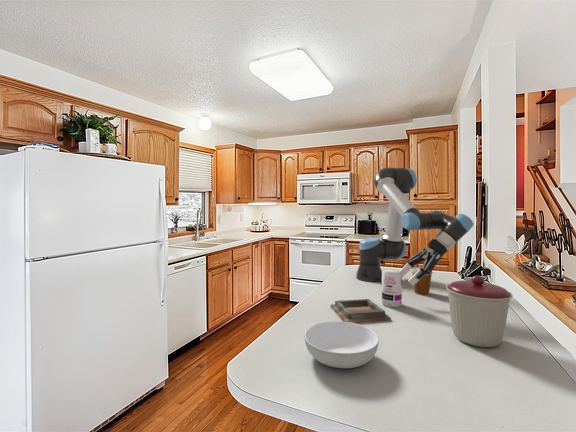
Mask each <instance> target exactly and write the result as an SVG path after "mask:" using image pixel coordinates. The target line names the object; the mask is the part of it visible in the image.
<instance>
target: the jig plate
mask: <svg viewBox="0 0 576 432" xmlns="http://www.w3.org/2000/svg"><path fill="white" fill-rule="evenodd" d="M330 308H331V309H332V310H333V311H334V313H335V314H336V315H337V316H338V317H339V318H340V319H341V321H343V322H351V323H356V324H360V323H372V322H373V323H374V322H384V321H385V322H386V321H387V322H388V321H391V320H392V318H391V317H390V316H389V315H388V314H387V313H386V311H385V310H384V309H383V308H382V307H380V306H379V305H377V304H376V303H375V302H373V301H372V300H370V299H369V298H364V299H362V298H361V299H345V300H344V299H343V300H334V303H333V304H330Z"/></svg>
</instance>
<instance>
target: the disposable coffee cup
mask: <svg viewBox="0 0 576 432" xmlns="http://www.w3.org/2000/svg"><path fill="white" fill-rule="evenodd" d="M420 268H422V266H415V267H413V268H412V269H411V270H410V271H411V273H412V276H413V275H414V274H415V273H416V272H417V271H418V270H420ZM420 271H421V270H420ZM432 275H433V271H432V272H431V273H430V274H429V275H428V274H426V275H424V276H423V277H422V278H421V279H420V280H419V281H418V282H417V283H416V284H415V285H414V286H413V288H414V293H415V294H416V295H422V296H427V295H429V294H430V287H431V281H432Z"/></svg>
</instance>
